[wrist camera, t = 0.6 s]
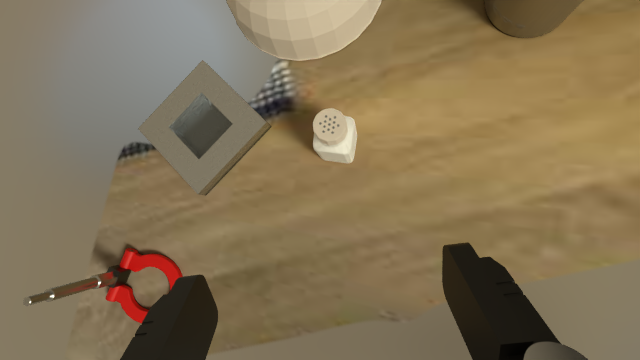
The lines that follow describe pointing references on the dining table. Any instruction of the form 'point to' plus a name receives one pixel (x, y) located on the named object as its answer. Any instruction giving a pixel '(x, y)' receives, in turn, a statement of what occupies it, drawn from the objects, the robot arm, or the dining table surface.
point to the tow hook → (116, 282)
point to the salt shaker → (334, 136)
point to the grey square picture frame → (204, 128)
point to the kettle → (302, 25)
